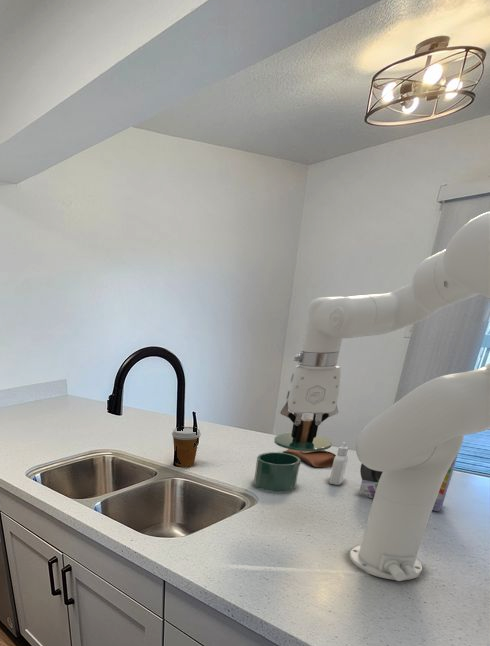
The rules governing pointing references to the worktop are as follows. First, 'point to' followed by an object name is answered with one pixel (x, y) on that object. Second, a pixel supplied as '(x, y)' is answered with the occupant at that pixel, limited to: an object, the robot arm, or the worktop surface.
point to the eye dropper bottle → (339, 465)
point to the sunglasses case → (314, 457)
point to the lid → (303, 440)
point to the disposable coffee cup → (185, 445)
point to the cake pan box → (372, 476)
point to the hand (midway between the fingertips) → (302, 439)
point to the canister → (276, 471)
